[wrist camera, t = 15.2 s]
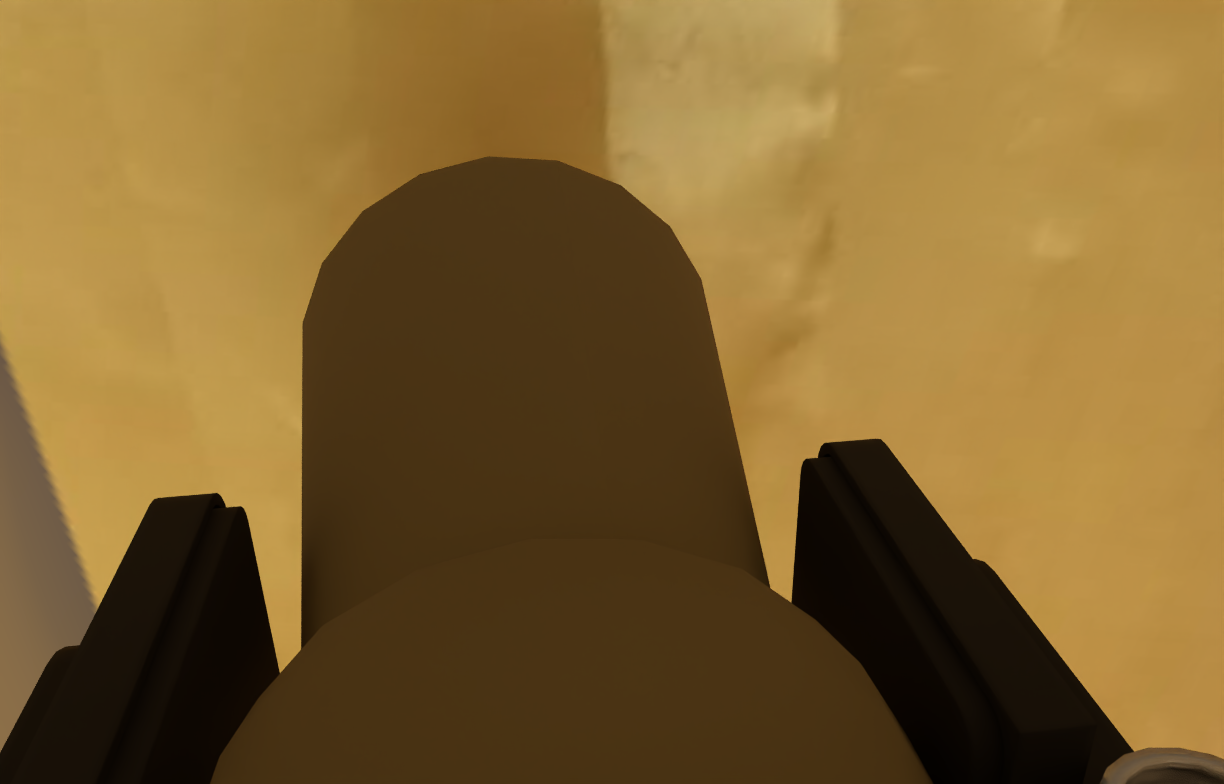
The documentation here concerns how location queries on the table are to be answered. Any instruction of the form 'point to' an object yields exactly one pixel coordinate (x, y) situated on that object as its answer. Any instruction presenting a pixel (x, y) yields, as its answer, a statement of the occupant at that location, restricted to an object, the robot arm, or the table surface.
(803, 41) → the table surface
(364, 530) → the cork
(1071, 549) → the table surface
